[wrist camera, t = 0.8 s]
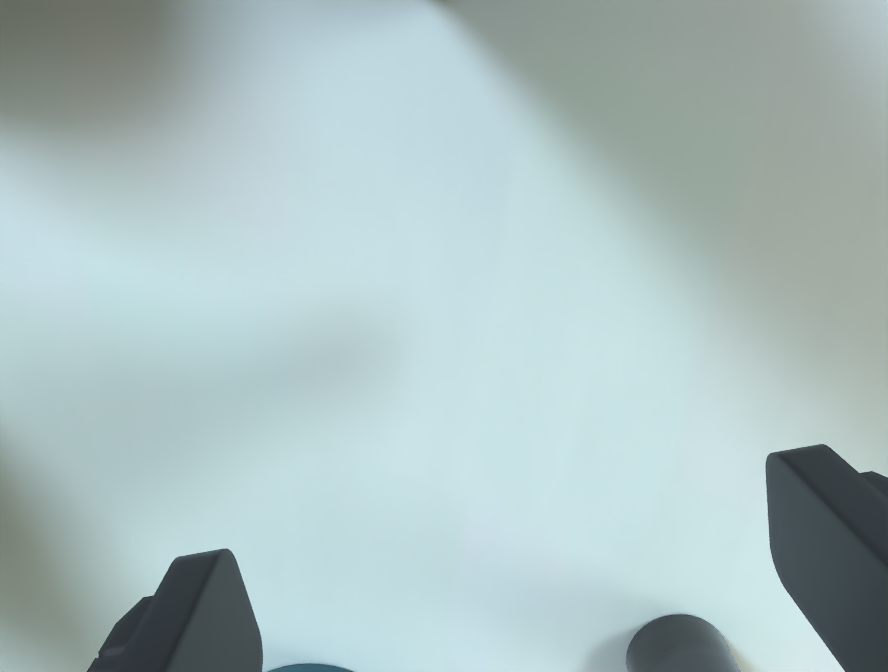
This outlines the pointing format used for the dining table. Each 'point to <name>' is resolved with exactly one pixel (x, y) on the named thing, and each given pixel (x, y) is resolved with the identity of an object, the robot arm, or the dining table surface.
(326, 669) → the jar
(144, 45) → the dining table surface
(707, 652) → the dowel
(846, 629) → the robot arm
